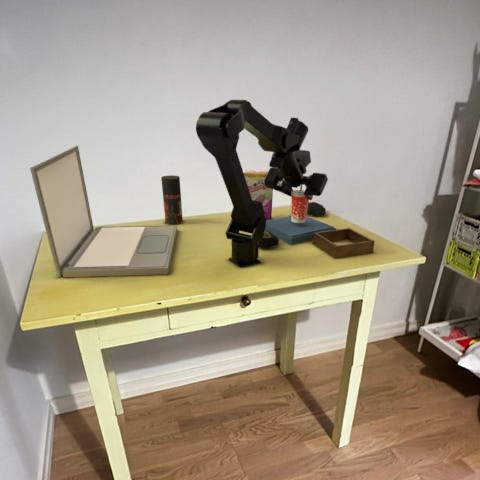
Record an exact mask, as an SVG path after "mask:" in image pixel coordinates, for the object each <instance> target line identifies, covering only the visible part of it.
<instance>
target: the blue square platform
mask: <svg viewBox="0 0 480 480" xmlns="http://www.w3.org/2000/svg"><path fill="white" fill-rule="evenodd" d="M330 230H337V228H335V226H333V225H331V224H328V223H325V222H323V221H320V220H318V219H315V218H312V217H309V216H307V217H306V222H304V223H295V222H292V221H291V215H289V216H283V217H282V216H281V217H278V218H271V220H266V227H265V231H264V232H268V231H269V232H271V233H272V234H273V235H275V236H276V237H277V238H278V239H279V240H280V241H282V242H285V243H287V244H289V245H295V244H300V243H305V242H309V241H313V233H314V232H322V231H330Z"/></svg>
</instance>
